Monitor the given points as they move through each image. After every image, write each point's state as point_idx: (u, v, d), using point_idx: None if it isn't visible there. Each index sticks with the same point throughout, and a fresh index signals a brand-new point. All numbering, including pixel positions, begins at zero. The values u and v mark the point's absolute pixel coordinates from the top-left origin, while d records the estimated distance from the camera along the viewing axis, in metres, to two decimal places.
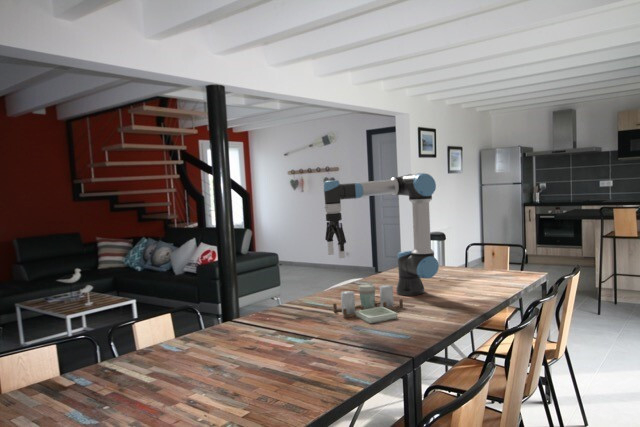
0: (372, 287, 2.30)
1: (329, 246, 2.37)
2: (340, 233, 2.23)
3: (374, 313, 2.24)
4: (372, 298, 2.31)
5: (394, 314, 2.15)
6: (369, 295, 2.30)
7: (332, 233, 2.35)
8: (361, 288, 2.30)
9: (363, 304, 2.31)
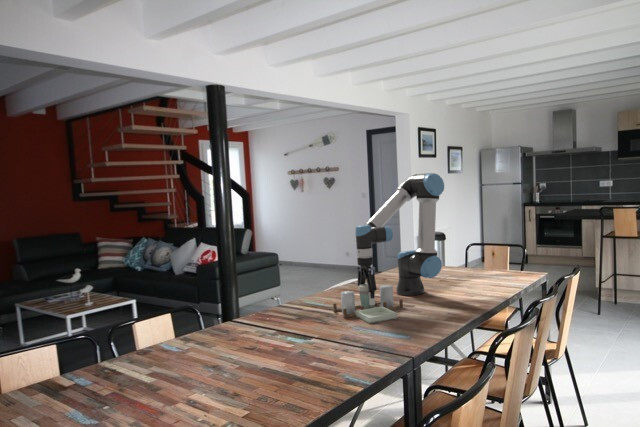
0: None
1: None
2: (372, 281, 2.26)
3: (374, 313, 2.24)
4: None
5: (394, 314, 2.15)
6: None
7: (364, 278, 2.36)
8: (361, 288, 2.30)
9: (363, 304, 2.31)
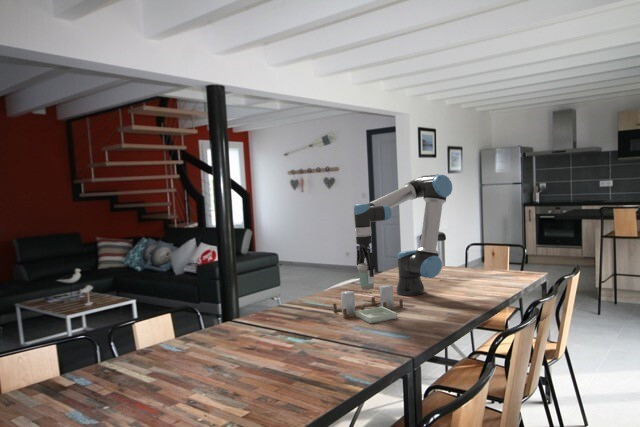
0: None
1: None
2: (371, 259, 2.25)
3: (374, 313, 2.24)
4: None
5: (394, 314, 2.15)
6: None
7: (363, 257, 2.35)
8: (360, 267, 2.30)
9: (362, 283, 2.31)
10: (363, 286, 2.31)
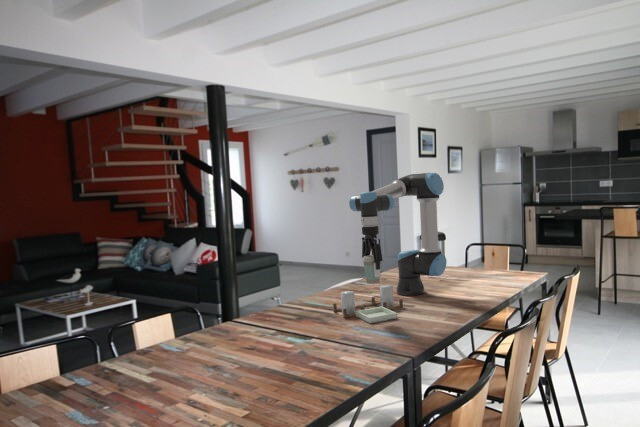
0: None
1: None
2: (377, 250, 2.11)
3: (374, 313, 2.24)
4: None
5: (394, 314, 2.15)
6: None
7: (369, 249, 2.21)
8: (366, 259, 2.16)
9: (368, 276, 2.17)
10: (368, 279, 2.17)
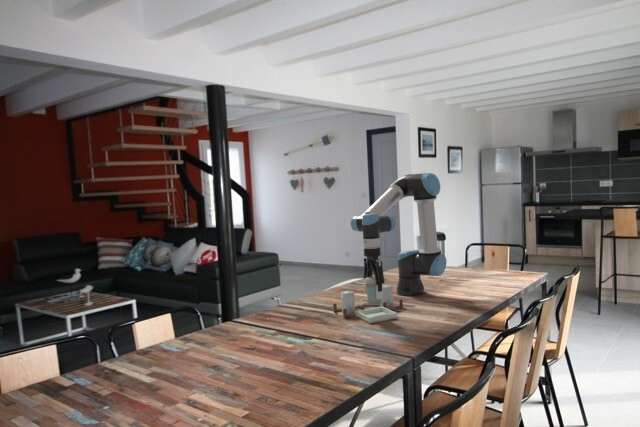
0: None
1: None
2: (379, 273, 2.11)
3: (374, 313, 2.24)
4: None
5: (394, 314, 2.15)
6: None
7: (371, 270, 2.21)
8: (368, 281, 2.16)
9: (370, 298, 2.17)
10: (370, 301, 2.17)
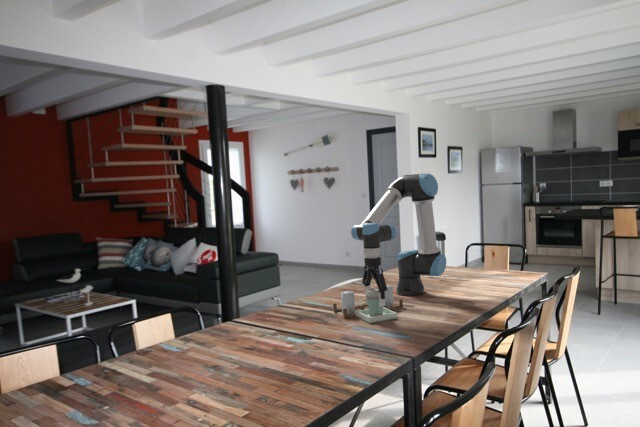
0: None
1: None
2: (381, 280, 2.11)
3: None
4: None
5: (394, 314, 2.15)
6: (377, 301, 2.15)
7: (370, 278, 2.22)
8: (369, 293, 2.16)
9: (371, 310, 2.17)
10: (372, 314, 2.17)
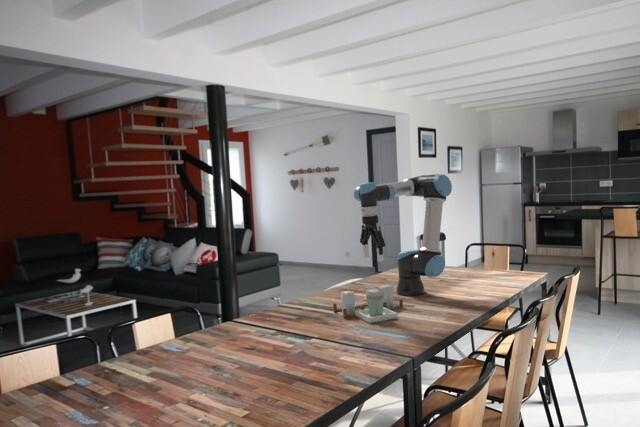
0: (380, 292, 2.16)
1: (365, 249, 2.33)
2: (379, 236, 2.19)
3: None
4: (380, 304, 2.16)
5: (394, 314, 2.15)
6: (378, 301, 2.15)
7: (368, 236, 2.30)
8: (369, 293, 2.16)
9: (371, 310, 2.17)
10: (372, 314, 2.17)
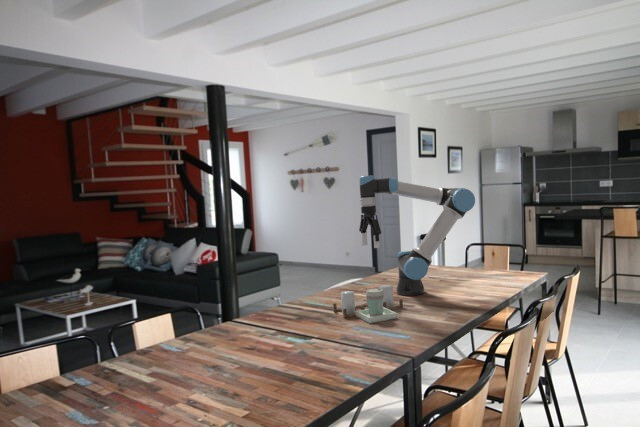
0: (380, 292, 2.16)
1: (363, 237, 2.53)
2: (375, 224, 2.39)
3: None
4: (380, 304, 2.16)
5: (394, 314, 2.15)
6: (377, 301, 2.15)
7: (366, 225, 2.51)
8: (368, 293, 2.16)
9: (371, 310, 2.17)
10: (371, 314, 2.17)
